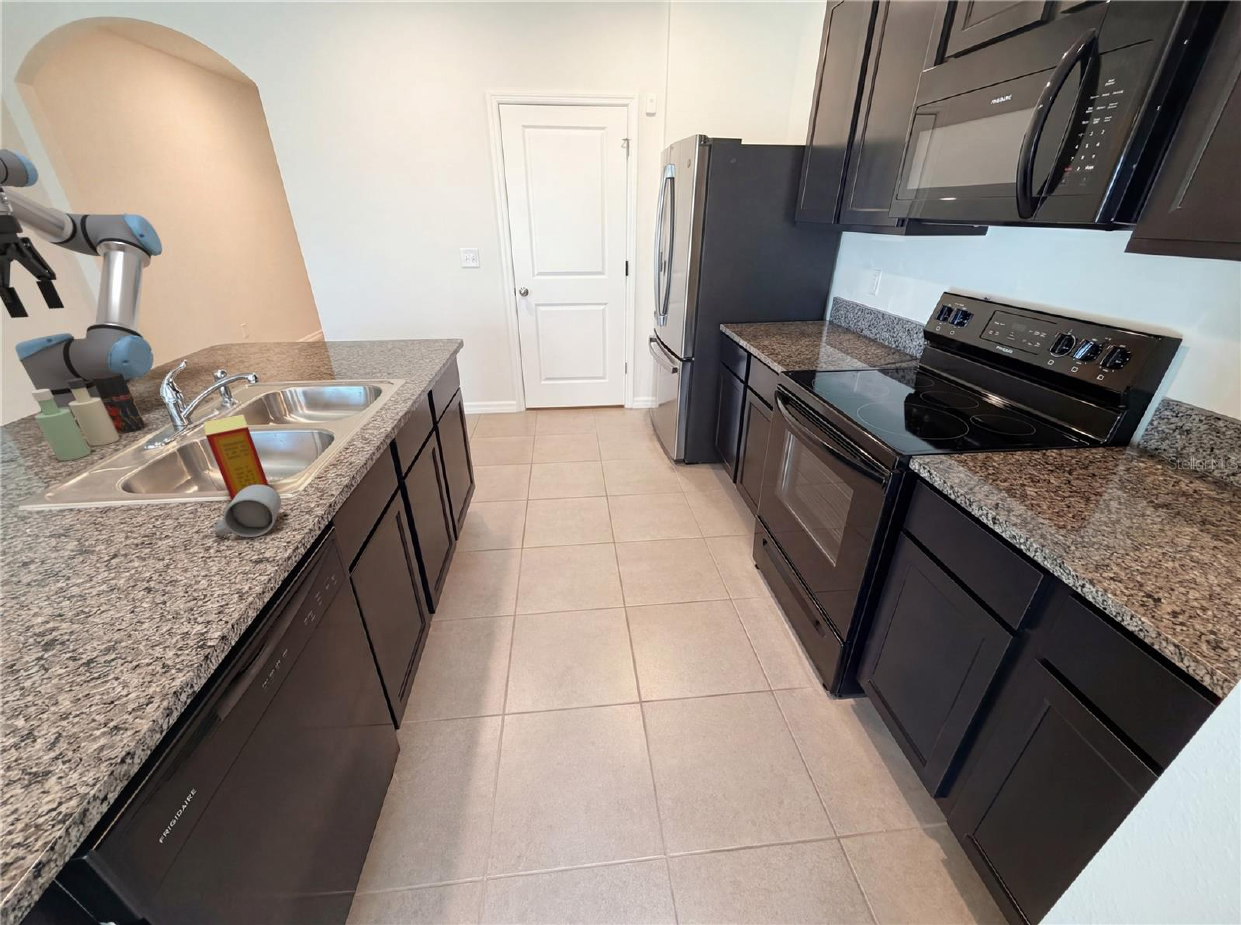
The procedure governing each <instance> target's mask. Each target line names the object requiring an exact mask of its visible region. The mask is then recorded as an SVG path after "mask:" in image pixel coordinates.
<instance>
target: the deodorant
mask: <svg viewBox="0 0 1241 925" xmlns="http://www.w3.org/2000/svg"><path fill="white" fill-rule="evenodd" d="M92 381H93V383H94V385H95V387H96V389H97V391H98V393H99V395H100V397H101V399H102V401H103V403H104V406H105V408H106V410H107V412H108V414H109V417H110V419H111V421H112V423H113V425H114V427H115V429H116V432H117V434H126V433H133V432H137V431H141V430H143V429H145V428H146V423H145V421H144V419H143V416H142V415H141V412H140V411H139V408H138V406H137V404H136V401H135V400H134V397H133V394H132V393H131V390H130V388H129V385H128V384H127V383H128V382H126V381H125V379H124V377H123V374H122V373H106V374H101V375H96V376H93V377H92Z"/></svg>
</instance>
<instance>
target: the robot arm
mask: <svg viewBox="0 0 1241 925" xmlns="http://www.w3.org/2000/svg"><path fill="white" fill-rule="evenodd" d="M38 180H39V173H38V169H37V167H36V166H35V165H34V163H33V162H32V161H31V160H30V159H29V158H27V157H26V156H24V155H23V154H21V153H19V152H16V151H11V150H8V149H6V148H2V149H1V148H0V299H1V302H2V303H3V305H4V307H5V309H6V311H7V312H8V314H9V316H10V318H11V319H17V318H18V319H19V318H28V317H29V314H28V312H27V309H26V308H25V306H24V304H23V302H22V300H21V298H20V296H19V294H18V292H17V290H16V289H15V286H11V267H12V266H11V265H12V264H11V263H13V262H14V261H17V262H18V263H19V264H20V265H21V266H22V267H23V268H24V269H25V270H26V271H27V272H29V273H30V274H31V275H32V276H33V277H34V278H35V279H37V280H36V281H35V284H36V286H37V287H38V289H39V291H40V293H41V295H42V297H43V300H44V301H45V304H46V306H47V308H48V310H53V309H54V310H55V309H56V310H57V309H65V306H64V303H63V302H62V299H61V297H60V295H59V293H58V291H57V289H56V287H55V285H54V283H53V281H57V274H56V272H55V271H54V270H53V269H52V267H51V266H50V264H49V263H48V262H47V261H46V259H44V257H43V256H42V255H41V253H40V252H39V251H38V249H37V248H36V246H34V244H33V242H32V241H31V240H32V239H31V238H30V237H29V236H19V235H18V234H22V233H24V230H23V228H26V229H28V230H29V231H32V232H33V233H34V234H35V235H36V236H37V237H38V238H40V239H41V240H43V241H46V242H48V243H50V244H53V245H55V246H58V247H61V248H63V249H66V250H68V251H72V252H75V253H79V254H83V255H87V256H91V257H100V258H102V266H101V273H100V274H101V275H100V282H99V291H98V292H99V293H98V299H97V307H96V317H95V323H93V324H90V325H89V326H87V327H86V333H85V337H84V338H75V336H73V335H72V334H71V333H68V332H65V333H56V334H51V335H46V336H42V337H37V338H32V339H28V340H25V341H21V342H19V343H17V344H16V345H15V348H14V349H15V352H16V354H17V356H18V361H19V362H20V363H21V365H22V366H23V368H24V370H25V372H26V374H27V376H28V377H29V379H30V381H31V382H32V386H34V388H35V390H40V389H50V391H51V393H52V395H53V397H54V398H53V399H54V401H55V403H56V405H57V407H58V409H69V410H70V412H71V414H72V416H73V418H74V420H75V422H76V424H77V425H79V423H78V422H77V420H76V418H75V416H74V414H73V412H72V410H71V408H70V406H69V403H70V402H73V401H76V398H75V396H74V394H73V392H72V390H71V389H69V387H68V385H67V383H66V381H67V380H70V379H75V378H82V379H83V380H84V382H85V384H86V389H87V391H88V393H89V395H90V397H91V398H95V397H96V398H101V397H100V395H99V393H98V391H97V389H96V387H95V385H94V383H93V381H92V377H93V376H96V375H101V374H106V373H122V374H123V377H124V379H125V381H126V383H128V382H129V380H130V379H135V378H141V377H144V376H145V375H147V374H149V372H150V371H151V369H152V367H153V365H154V353H153V352H152V350H153V349H152V347H151V345H150V343H149V342H148V341H147V340H146V339H145V338H144V336H143V335H142V334H141V332H139V331H138V330H139V329H138V327H139V318H140V315H139V314H140V305H141V296H142V285H143V284H142V283H143V275H144V273H143V272H144V269H145V268H148V267H149V266H150V265H151V260H152V256H154V257H157V256H161V254H162V253H163V246H162V242H161V239H160V237H159V235H158V232H157V230H156V228H154V226H153V225H152V224H151V223H150V221H149V220H148V219H147V218H146V217H144V216H142V215H141V214H140V215H139V214H130V213H123V214H101V213H100V214H94V213H93V214H85V213H81V214H79V213H68V212H64V211H62V210H60V209H58V208H55V207H47V206H45V205H44V204H41V203H39V202H38V201H35V200H33V199H31V198H30V197H28V196H26V195H24V194H22V193H20V192H18V191H16V190H14V189H12V188H10V187H14V188H28V187H32V186H34V185H35V184H36V183H37V182H38ZM29 318H30V317H29ZM101 400H102V399H101ZM102 402H103V401H102ZM103 405H104V403H103ZM104 407H105V406H104ZM105 409H106V408H105ZM106 411H107V410H106ZM40 413H43V411H42V410H41V409H40ZM107 413H108V412H107ZM108 415H109V414H108Z"/></svg>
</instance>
